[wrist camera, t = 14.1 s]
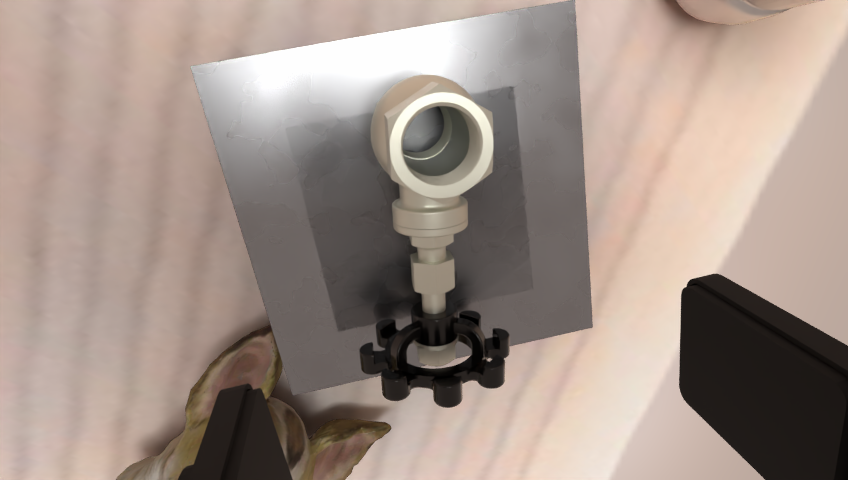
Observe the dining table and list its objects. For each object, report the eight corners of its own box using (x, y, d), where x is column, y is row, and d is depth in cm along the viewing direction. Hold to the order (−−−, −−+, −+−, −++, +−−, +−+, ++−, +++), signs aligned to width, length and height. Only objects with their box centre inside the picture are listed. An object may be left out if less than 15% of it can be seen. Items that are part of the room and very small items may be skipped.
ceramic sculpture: (-16, 595, 21) (258, 374, 21) (77, 452, 29) (275, 291, 29) (180, 696, 25) (415, 512, 24) (214, 545, 33) (391, 404, 33)
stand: (299, 353, 29) (292, 395, 26) (214, 65, 24) (190, 66, 20) (562, 294, 31) (592, 327, 27) (540, 9, 25) (575, -1, 21)
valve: (333, 76, 21) (359, 331, 25) (328, 83, 15) (363, 420, 19) (489, 69, 22) (489, 317, 26) (545, 71, 16) (534, 397, 20)
